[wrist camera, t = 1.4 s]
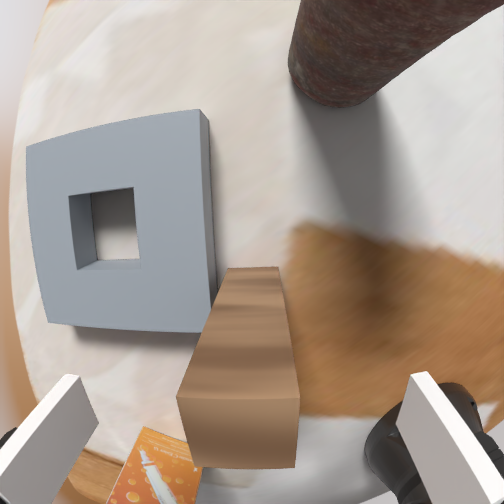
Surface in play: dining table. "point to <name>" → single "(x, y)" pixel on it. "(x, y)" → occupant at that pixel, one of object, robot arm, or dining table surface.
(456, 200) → the dining table surface
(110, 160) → the socket
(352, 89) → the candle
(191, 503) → the small box
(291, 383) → the peg
